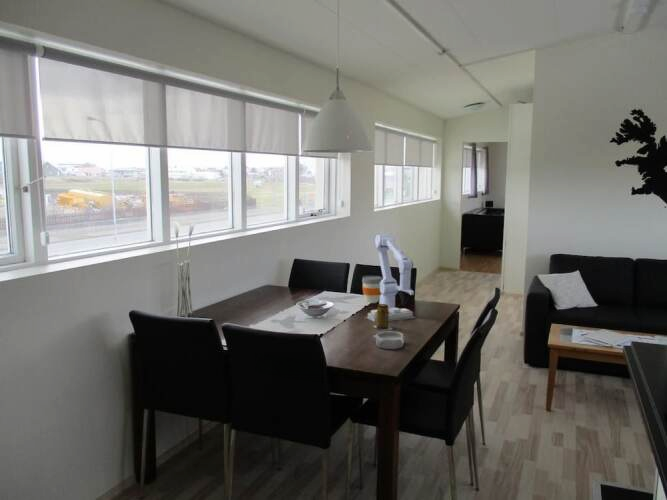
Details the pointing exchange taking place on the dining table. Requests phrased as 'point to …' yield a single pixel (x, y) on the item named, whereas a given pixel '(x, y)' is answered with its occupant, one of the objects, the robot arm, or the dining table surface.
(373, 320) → the keypad
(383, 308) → the condiment
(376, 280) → the reusable coffee cup
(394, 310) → the bluegrey key
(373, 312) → the sage key
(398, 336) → the dish
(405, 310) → the ivory key
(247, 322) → the dining table surface
